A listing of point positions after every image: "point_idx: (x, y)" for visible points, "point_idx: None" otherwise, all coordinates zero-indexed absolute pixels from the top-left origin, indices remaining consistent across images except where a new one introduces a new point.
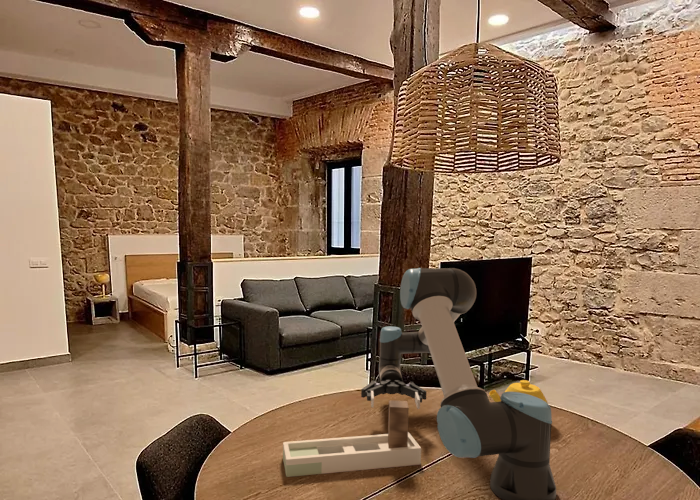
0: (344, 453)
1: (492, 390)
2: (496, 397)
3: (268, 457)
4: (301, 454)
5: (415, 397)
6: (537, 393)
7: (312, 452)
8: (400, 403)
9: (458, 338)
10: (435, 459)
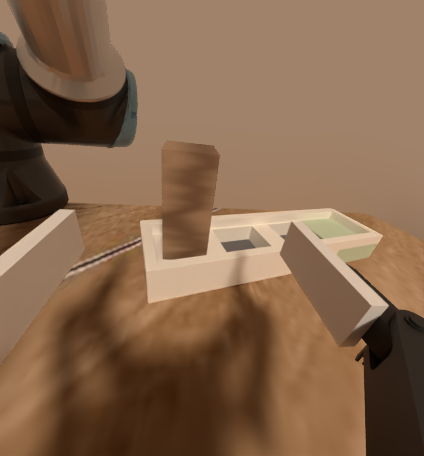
0: (271, 214)
1: None
2: None
3: (389, 259)
4: (333, 229)
5: (15, 299)
6: None
7: (323, 233)
8: (185, 147)
9: None
10: (101, 261)
